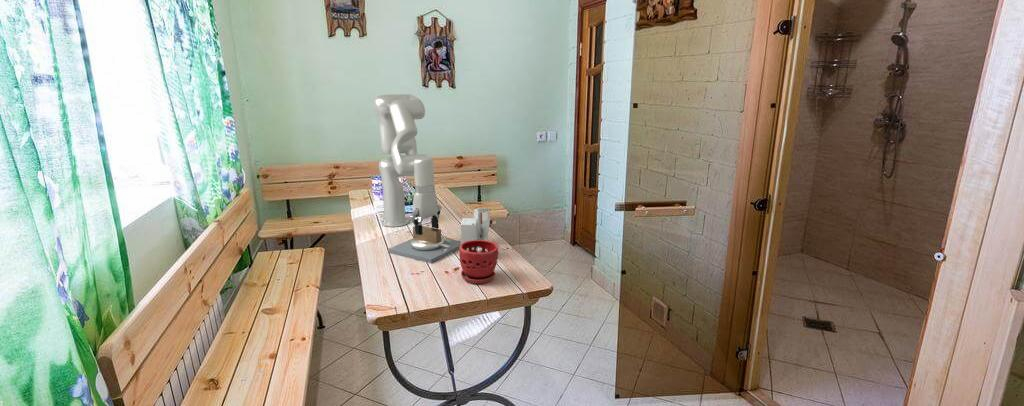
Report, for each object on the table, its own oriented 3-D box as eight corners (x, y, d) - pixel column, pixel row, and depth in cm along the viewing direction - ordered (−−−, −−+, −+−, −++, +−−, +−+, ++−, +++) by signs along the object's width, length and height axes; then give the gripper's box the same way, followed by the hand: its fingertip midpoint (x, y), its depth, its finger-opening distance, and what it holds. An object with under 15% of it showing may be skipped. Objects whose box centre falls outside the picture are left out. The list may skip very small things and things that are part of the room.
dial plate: (387, 252, 185) (387, 248, 185) (424, 236, 204) (424, 233, 203) (431, 263, 175) (431, 259, 174) (466, 245, 193) (466, 241, 192)
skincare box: (463, 253, 184) (462, 217, 180) (478, 253, 184) (477, 217, 180) (460, 261, 176) (459, 224, 172) (476, 261, 176) (476, 224, 172)
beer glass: (487, 248, 190) (487, 212, 186) (471, 247, 191) (470, 211, 187) (491, 242, 196) (491, 208, 192) (475, 241, 198) (475, 207, 194)
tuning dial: (404, 246, 186) (403, 230, 185) (425, 237, 197) (425, 221, 195) (438, 255, 178) (438, 237, 176) (459, 244, 189) (458, 228, 187)
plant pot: (467, 289, 153) (466, 254, 150) (455, 274, 165) (454, 242, 162) (504, 282, 158) (504, 249, 155) (490, 268, 170) (489, 237, 167)
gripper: (431, 184, 192) (434, 224, 196) (402, 192, 177) (405, 235, 181) (446, 185, 188) (448, 226, 192) (417, 194, 174) (419, 238, 178)
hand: (427, 231), depth 187 cm, fingers open, 9 cm apart
